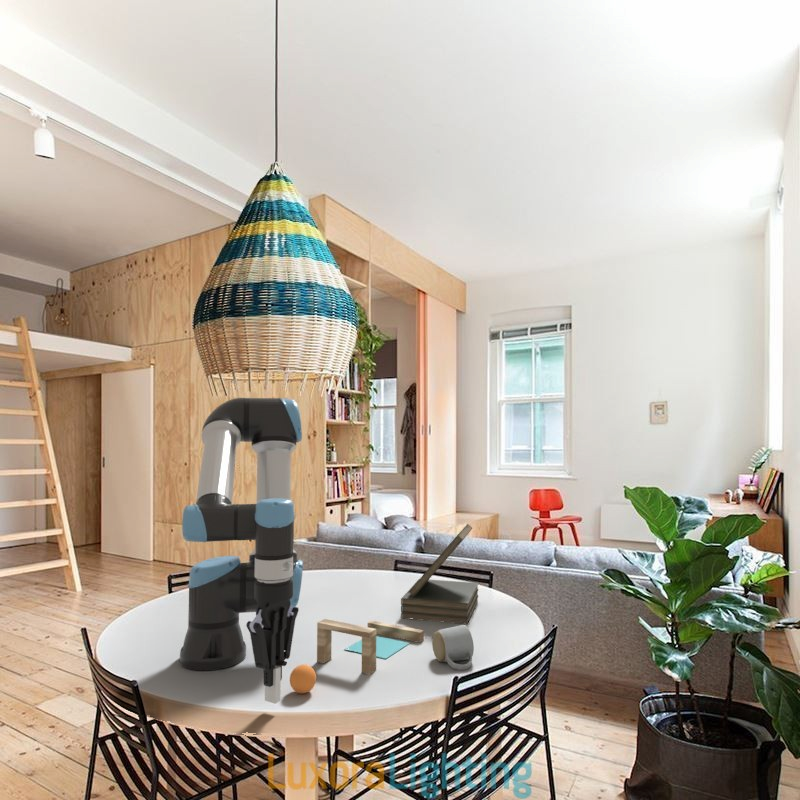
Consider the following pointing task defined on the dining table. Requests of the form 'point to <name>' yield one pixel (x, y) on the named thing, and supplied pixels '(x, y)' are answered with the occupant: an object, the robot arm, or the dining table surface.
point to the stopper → (397, 631)
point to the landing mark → (381, 647)
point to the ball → (302, 678)
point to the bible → (441, 593)
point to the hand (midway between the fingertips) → (272, 700)
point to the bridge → (366, 633)
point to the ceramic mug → (453, 646)
